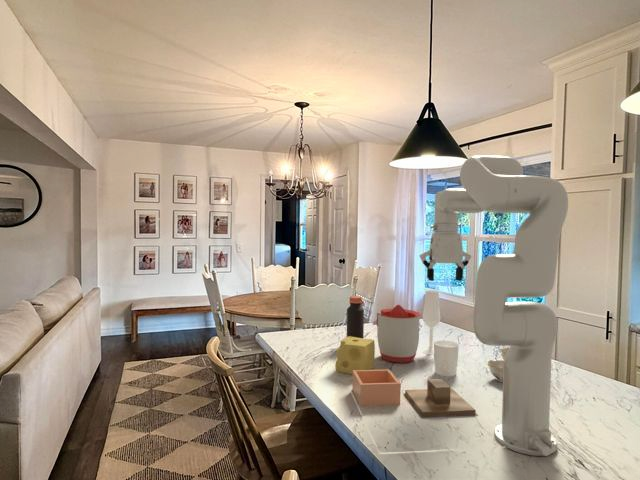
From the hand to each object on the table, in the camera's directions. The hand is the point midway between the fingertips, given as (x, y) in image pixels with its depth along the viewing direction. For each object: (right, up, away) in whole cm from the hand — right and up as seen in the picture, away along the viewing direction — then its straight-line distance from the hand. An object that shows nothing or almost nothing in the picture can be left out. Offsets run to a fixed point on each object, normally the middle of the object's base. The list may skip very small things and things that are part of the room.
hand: (444, 280), depth 135 cm
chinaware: (+24, -32, -1) cm, 40 cm away
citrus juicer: (-14, -30, +15) cm, 37 cm away
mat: (-9, -31, -25) cm, 41 cm away
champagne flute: (+2, -30, +23) cm, 38 cm away
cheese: (-29, -31, +2) cm, 43 cm away
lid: (-9, -31, -25) cm, 41 cm away
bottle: (-27, -30, +30) cm, 50 cm away
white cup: (0, -31, -1) cm, 31 cm away
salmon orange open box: (-26, -31, -20) cm, 45 cm away
